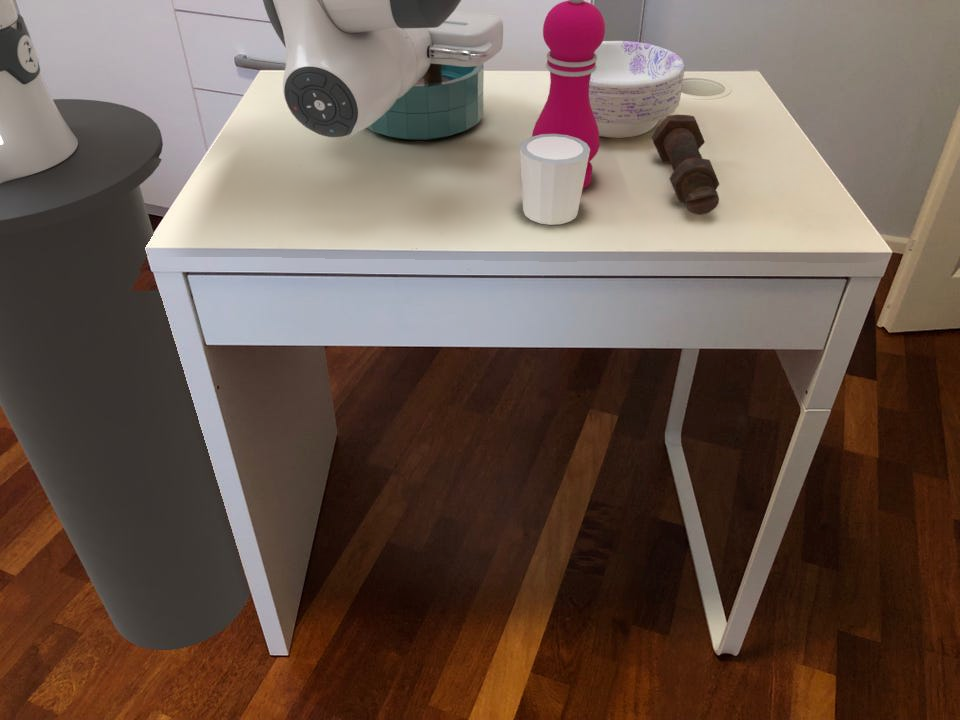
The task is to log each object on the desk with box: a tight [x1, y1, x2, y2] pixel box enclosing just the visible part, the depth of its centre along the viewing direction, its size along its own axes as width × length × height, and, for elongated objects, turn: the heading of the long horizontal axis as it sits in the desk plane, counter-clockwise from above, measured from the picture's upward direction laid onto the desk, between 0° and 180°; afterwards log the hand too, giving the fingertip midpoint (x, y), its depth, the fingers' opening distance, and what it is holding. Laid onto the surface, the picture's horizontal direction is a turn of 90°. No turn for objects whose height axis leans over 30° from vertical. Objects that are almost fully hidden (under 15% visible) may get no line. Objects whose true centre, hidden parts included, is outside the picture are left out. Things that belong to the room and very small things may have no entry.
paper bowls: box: [589, 40, 686, 139], centre depth 96 cm, size 15×15×8 cm
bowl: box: [366, 63, 485, 141], centre depth 98 cm, size 16×16×7 cm
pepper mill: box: [531, 0, 606, 190], centre depth 81 cm, size 7×7×20 cm
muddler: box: [416, 63, 450, 84], centre depth 92 cm, size 4×4×18 cm
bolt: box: [651, 114, 720, 215], centre depth 84 cm, size 6×5×15 cm
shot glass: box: [519, 134, 590, 226], centre depth 79 cm, size 7×7×7 cm
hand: (433, 11), depth 92 cm, fingers closed on muddler, 2 cm apart
